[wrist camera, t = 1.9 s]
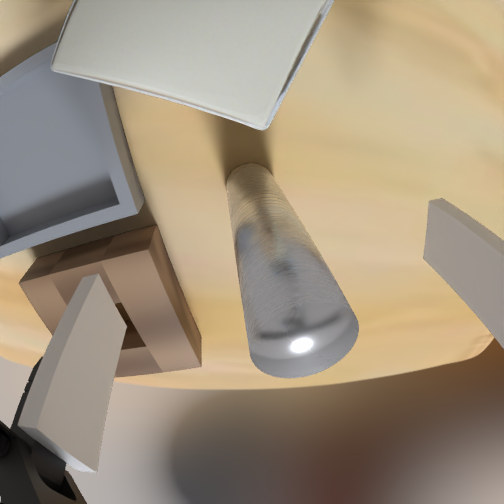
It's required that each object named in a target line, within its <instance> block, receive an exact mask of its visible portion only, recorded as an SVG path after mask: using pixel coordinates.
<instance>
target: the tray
mask: <svg viewBox="0 0 504 504" xmlns="http://www.w3.org/2000/svg"><path fill="white" fill-rule="evenodd" d="M56 45H57V42H56V43H54V44H52V45H50V46H49V47H47V48H45V49H43V50H41V51H40V52H38V53H36V54H35V55H33V56H31V57H30V58H28V59H26V60H25V61H23V62H22V63H20V64H19V65H17V66H16V67H14V68H13V69H11V70H10V71H8V72H7V73H5V74H4V75H2V76H1V77H0V258H3V257H5V256H8V255H11V254H13V253H16V252H19V251H22V250H24V249H27V248H30V247H33V246H36V245H39V244H42V243H45V242H48V241H50V240H53V239H56V238H60V237H63V236H66V235H69V234H72V233H75V232H78V231H81V230H85V229H88V228H91V227H94V226H98V225H101V224H104V223H108V222H111V221H115V220H118V219H121V218H125V217H128V216H132V215H136V214H138V213H139V211H140V209H141V207H142V205H143V204H144V202H145V198H144V195H143V192H142V189H141V186H140V183H139V180H138V177H137V173H136V170H135V167H134V164H133V161H132V157H131V154H130V151H129V147H128V144H127V140H126V137H125V133H124V130H123V126H122V122H121V119H120V115H119V111H118V107H117V103H116V100H115V96H114V91H113V87H112V86H111V85H107V84H104V83H100V82H96V81H92V80H87V79H83V78H79V77H75V76H70V75H66V74H62V73H57V72H54V71H52V70H51V67H50V64H51V59H52V56H53V53H54V50H55V48H56Z"/></svg>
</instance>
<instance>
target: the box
mask: <svg viewBox="0 0 504 504" xmlns="http://www.w3.org/2000/svg"><path fill="white" fill-rule="evenodd" d="M333 2H334V0H74V1H73V3H72V5H71V7H70V10H69V12H68V14H67V17H66V19H65V22H64V25H63V27H62V30H61V33H60V36H59V39H58V42H57V45H56V48H55V50H54V53H53V56H52V59H51V64H50V67H51V70H52V71H54V72H57V73H62V74H66V75H70V76H75V77H79V78H83V79H87V80H92V81H96V82H100V83H104V84H107V85H111V86H116V87H120V88H124V89H128V90H132V91H135V92H139V93H143V94H146V95H150V96H154V97H157V98H161V99H164V100H168V101H171V102H175V103H178V104H182V105H185V106H188V107H192V108H195V109H198V110H201V111H205V112H208V113H211V114H214V115H217V116H220V117H224V118H227V119H230V120H233V121H236V122H239V123H242V124H244V125H247V126H249V127H252V128H254V129H258V130H265V129H267V128H268V127H269V125H270V124H271V122H272V120H273V118H274V116H275V114H276V112H277V110H278V109H279V107H280V105H281V103H282V101H283V99H284V97H285V95H286V93H287V91H288V89H289V87H290V85H291V83H292V81H293V79H294V77H295V76H296V74H297V72H298V70H299V68H300V66H301V64H302V62H303V60H304V58H305V56H306V54H307V52H308V50H309V48H310V46H311V44H312V43H313V41H314V39H315V37H316V35H317V33H318V31H319V29H320V27H321V25H322V23H323V21H324V19H325V18H326V16H327V14H328V12H329V10H330V8H331V6H332V4H333Z"/></svg>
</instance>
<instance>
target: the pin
mask: <svg viewBox="0 0 504 504" xmlns="http://www.w3.org/2000/svg"><path fill="white" fill-rule="evenodd" d="M226 191H227V198H228V205H229V213H230V220H231V227H232V235H233V242H234V249H235V256H236V263H237V270H238V277H239V284H240V291H241V298H242V304H243V311H244V318H245V324H246V331H247V337H248V344H249V350H250V356H251V359H252V361H253V363H254V364H255V366H256V367H257V368H258V369H260V370H261V371H262V372H264V373H266V374H268V375H271V376H275V377H280V378H299V377H305V376H309V375H313V374H316V373H318V372H321V371H323V370H325V369H327V368H329V367H331V366H333V365H334V364H336V363H337V362H338V361H340V360H341V359H342V358H343V357H344V356H345V355H346V354H347V353H348V352H349V351H350V350H351V348H352V347H353V345H354V343H355V342H356V339H357V336H358V332H359V325H358V320H357V318H356V316H355V314H354V312H353V311H352V309H351V307H350V305H349V303H348V301H347V300H346V298H345V296H344V294H343V292H342V291H341V289H340V287H339V285H338V284H337V282H336V280H335V278H334V277H333V275H332V273H331V271H330V270H329V268H328V266H327V264H326V263H325V261H324V259H323V257H322V256H321V254H320V252H319V251H318V249H317V247H316V246H315V244H314V242H313V241H312V239H311V237H310V236H309V234H308V232H307V231H306V229H305V227H304V226H303V224H302V222H301V221H300V219H299V217H298V216H297V214H296V213H295V211H294V209H293V208H292V206H291V204H290V203H289V201H288V200H287V198H286V196H285V195H284V193H283V192H282V190H281V189H280V187H279V185H278V184H277V182H276V181H275V179H274V178H273V176H272V174H271V173H270V172H269V170H267V169H266V168H265V167H264V166H262V165H259V164H256V163H247V164H243V165H240V166H238V167H237V168H235V169H234V170H233V171H232V172H231V174H230V175H229V177H228V179H227V183H226Z"/></svg>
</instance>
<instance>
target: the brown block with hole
mask: <svg viewBox="0 0 504 504" xmlns="http://www.w3.org/2000/svg"><path fill="white" fill-rule="evenodd" d="M98 273H99V275H100V277H101V279H102V281H103V283H104V285H105V287H106V289H107V291H108V293H109V295H110V297H111V298H112V300H113V302H114V304H116V303H122V304H123V306H124V308H125V310H126V312H127V314H128V315H129V317H130V319H131V321H126V322H125V324H126V326H127V328H126V332H125V336H124V339H123V343H122V347H121V351H120V355H119V359H118V363H117V368H116V372H115V376H114V378H115V377H126V376H136V375H145V374H154V373H162V372H170V371H177V370H184V369H191V368H197V367H201V335H200V333H199V331H198V328H197V326H196V324H195V321H194V319H193V317H192V314H191V312H190V310H189V307H188V305H187V302H186V300H185V297H184V295H183V292H182V290H181V287H180V285H179V282H178V280H177V277H176V275H175V272H174V270H173V267H172V264H171V262H170V259H169V257H168V254H167V251H166V248H165V246H164V243H163V240H162V238H161V235H160V232H159V229H158V226H157V225H154V226H150V227H146V228H142V229H138V230H134V231H131V232H127V233H123V234H120V235H116V236H112V237H109V238H105V239H102V240H98V241H94V242H91V243H88V244H84V245H81V246H77V247H74V248H70V249H67V250H64V251H60V252H57V253H54V254H51V255H47V256H44V257H41V258H38V259H36V260H35V262H34V263H33V264H32V265H31V267H30V268H29V269H28V271H27V272H26V273H25V275H24V276H23V278H22V279H21V280H20V282H19V285H20V286H21V288H22V290H23V291H24V293H25V295H26V296H27V298H28V300H29V301H30V303H31V304H32V306H33V307H34V309H35V311H36V312H37V314H38V315H39V317H40V318H41V320H42V321H43V322H44V324H45V325H46V327H47V328H48V330H49V331H50V332H51V334H52V335H53V334H54V332H55V330H56V328H57V326H58V324H59V322H60V320H61V318H62V316H63V314H64V312H65V310H66V308H67V306H68V304H69V302H70V300H71V298H72V296H73V294H74V293H75V291H76V289H77V287H78V285H79V283H80V282H81V280H82V278H83V277H86V276H90V275H94V274H98Z"/></svg>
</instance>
